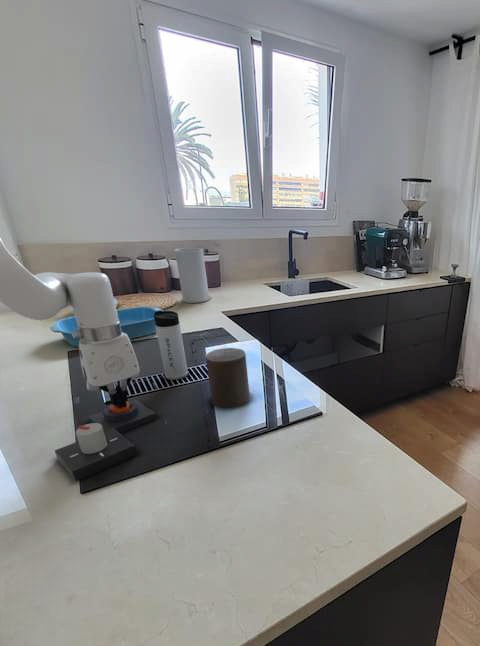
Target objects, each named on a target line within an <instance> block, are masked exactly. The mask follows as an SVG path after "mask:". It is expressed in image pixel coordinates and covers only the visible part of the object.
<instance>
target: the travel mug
mask: <svg viewBox="0 0 480 646" xmlns="http://www.w3.org/2000/svg"><path fill="white" fill-rule="evenodd" d="M162 310H163V309H162ZM162 310H159V311H155V313H154V320H155V326H156V336H157V341H158V346H159V352H160V356H161V361H162V367H163V372H164V377H165V379H167V380H170V381H176V380H182V379H185V378H187V376H188V375H189V371H188V365H187V358H186V353H185V348H184V341H183V335H182V330H181V322H180V318H179V313H177V312H176V311H172V310H163V311H162Z"/></svg>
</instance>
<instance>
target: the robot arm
mask: <svg viewBox="0 0 480 646" xmlns="http://www.w3.org/2000/svg"><path fill="white" fill-rule="evenodd" d="M114 298H115V297H114V293H113V288H112V284H111V281H110V278H109V277H108V275H107V274H105V273H103V272H96V271H90V272H89V271H87V272H78V273H63V272H53V271H51V272H50V271H49V272H48V271H46V272H39V273H35V274H33V273H32V272H30V271H29V270H28V269H27V268H26V267H25V266H23V265H22V264H21V263H20V262H19V261H18V260H17V259H16V258H15V257H14V256H13V255H12V253H10V251H9V250H8V248H7V247H6V245H5V244H4V242H3V240H2V238H1V237H0V303H1V304H3V305H4V306H6V307H7V308H8V309H9V310H11V311H13V312H14V313H16V314H18V315H19V316H21V317H24V318H26V319H29V320H33V321H45V320H49V319H52V318H53V317H56V315H58V314H59V313H60V312H61V311H62V310H63V309H65V308H67V307H71V308H72V310H73V313H74V316H75V317H76V321H77V324H78V326H77V328H78V329H77V331H75V332H72V336H73V338H81V340H79V347H78V353H79V360H80V365H81V370H82V374H83V377H84V380H85V381H86V389H87V390H88V391H90V392H92V391H93V392H95V391H103V392H106V393H108V396H109V399H110V403H111V404H112V405H115V406H117V407H118V408H119V409H120V408H122V407H126V406H127V404H126V401H129V400H128V396H127V392H126V391H127V389H128V386H129V384H130V383H131V381H133V380H134V379H136V378H138V377H140V365H139V363H138V359H137V355H136V353H135V350H134V347H133V345H132V342H131V339H129V338H128V336H127V334H126V333H123V332H122V330H121V326H120V322H119V318H118V314H117V310H118V309H117V308H116V305H115V301H114ZM114 383H115V386H114Z"/></svg>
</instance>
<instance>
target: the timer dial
mask: <svg viewBox="0 0 480 646" xmlns="http://www.w3.org/2000/svg"><path fill="white" fill-rule="evenodd" d="M75 435H76V439H77V442H78V441H79V445H80V448H81V451H82V452H83V453H84V454H93V453H97V452H99V451H101V450H103V449H104V448H106V446H107V442H106V438H105V435H104V431H103V428H102V425H101V424H99V423H86V424H83V425H79V426H78V427H77V429H76V430H75Z"/></svg>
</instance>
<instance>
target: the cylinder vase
mask: <svg viewBox="0 0 480 646" xmlns="http://www.w3.org/2000/svg"><path fill="white" fill-rule="evenodd" d="M174 252H175V259H176V265H177V272H178V278H179V283H180V284H179V285H180V291H181V297H182V301H183V302H184V303H188V304H200V303H201V304H202V303H205V302H208V301H209V300H210V294H209V287H208V285H209V284H208V277H207V271H206V262H205V256H204V249H203V248H198V247H183V248H181V247H180V248H176V249H175V248H174Z"/></svg>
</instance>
